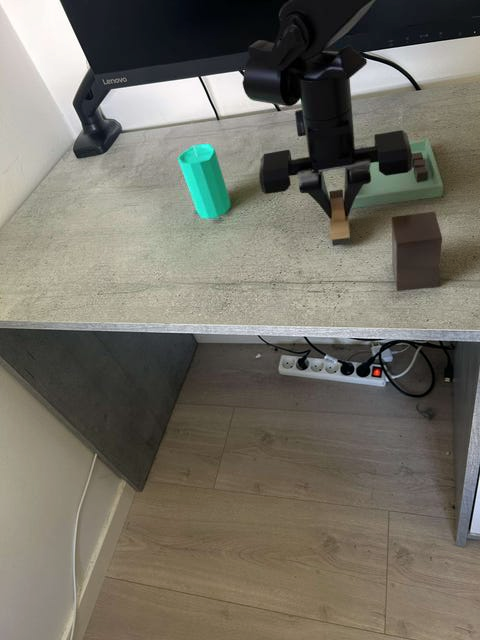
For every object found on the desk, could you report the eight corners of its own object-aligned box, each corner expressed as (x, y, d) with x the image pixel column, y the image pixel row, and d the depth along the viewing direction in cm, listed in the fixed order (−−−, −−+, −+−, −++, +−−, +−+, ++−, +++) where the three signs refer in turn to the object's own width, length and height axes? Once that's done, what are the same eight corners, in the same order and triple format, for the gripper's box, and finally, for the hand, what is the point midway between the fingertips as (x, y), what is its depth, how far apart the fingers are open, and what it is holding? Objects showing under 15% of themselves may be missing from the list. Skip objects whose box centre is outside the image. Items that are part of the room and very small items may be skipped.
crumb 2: (425, 168, 77) (425, 159, 76) (424, 173, 76) (425, 164, 75) (414, 168, 78) (414, 159, 76) (413, 174, 77) (414, 165, 75)
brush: (330, 220, 73) (325, 182, 68) (348, 218, 73) (344, 179, 68) (332, 246, 69) (327, 208, 64) (350, 244, 69) (347, 205, 64)
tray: (428, 149, 81) (428, 138, 79) (442, 196, 72) (443, 185, 71) (346, 162, 84) (346, 152, 83) (351, 208, 75) (350, 198, 74)
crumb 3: (425, 174, 76) (425, 165, 75) (427, 180, 75) (428, 171, 74) (414, 177, 76) (414, 168, 75) (417, 182, 75) (417, 173, 74)
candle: (201, 223, 82) (178, 160, 74) (194, 204, 86) (172, 142, 78) (234, 211, 82) (215, 146, 74) (226, 193, 86) (207, 130, 78)
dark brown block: (431, 260, 64) (435, 211, 59) (438, 287, 61) (442, 237, 55) (392, 264, 66) (391, 216, 60) (396, 291, 62) (396, 243, 56)
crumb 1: (421, 160, 78) (421, 151, 77) (422, 166, 77) (423, 157, 76) (410, 162, 79) (411, 153, 78) (412, 167, 78) (412, 158, 77)
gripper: (401, 63, 61) (400, 173, 72) (254, 93, 65) (275, 192, 76) (413, 106, 53) (411, 220, 65) (247, 136, 58) (272, 238, 69)
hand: (338, 215), depth 69 cm, fingers closed on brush, 2 cm apart
